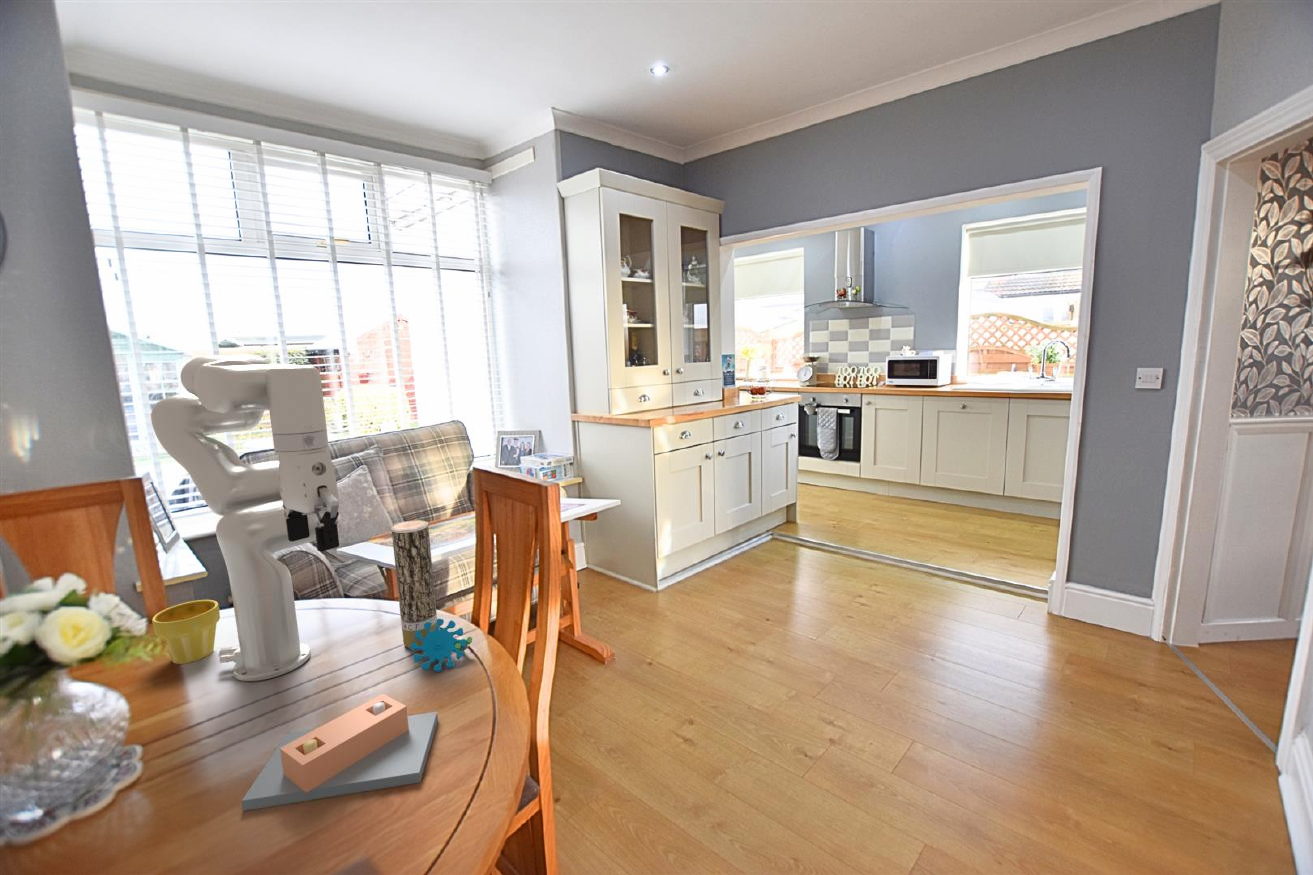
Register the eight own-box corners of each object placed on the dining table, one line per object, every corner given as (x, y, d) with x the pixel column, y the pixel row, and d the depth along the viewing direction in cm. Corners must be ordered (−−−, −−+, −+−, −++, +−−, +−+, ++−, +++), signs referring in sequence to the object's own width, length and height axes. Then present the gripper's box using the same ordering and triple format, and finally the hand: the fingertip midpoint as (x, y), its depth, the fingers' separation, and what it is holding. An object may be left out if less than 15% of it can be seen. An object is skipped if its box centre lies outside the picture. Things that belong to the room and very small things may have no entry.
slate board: (243, 810, 76) (236, 769, 75) (288, 741, 89) (283, 705, 89) (420, 782, 80) (416, 742, 79) (437, 720, 94) (434, 685, 93)
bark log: (426, 631, 124) (415, 518, 121) (445, 639, 120) (434, 523, 117) (397, 644, 119) (384, 527, 115) (415, 653, 115) (403, 532, 111)
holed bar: (306, 792, 77) (302, 765, 76) (283, 774, 80) (279, 748, 80) (408, 729, 89) (406, 705, 88) (385, 716, 92) (382, 693, 92)
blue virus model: (408, 671, 105) (412, 618, 111) (408, 681, 110) (413, 629, 116) (471, 667, 109) (472, 615, 115) (469, 676, 113) (470, 626, 119)
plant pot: (190, 671, 111) (182, 623, 110) (145, 667, 113) (137, 620, 112) (237, 644, 121) (230, 600, 120) (196, 641, 123) (189, 598, 122)
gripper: (353, 442, 92) (364, 546, 94) (300, 435, 101) (311, 530, 104) (302, 450, 86) (316, 560, 88) (251, 442, 95) (265, 542, 98)
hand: (313, 544), depth 96 cm, fingers open, 9 cm apart
